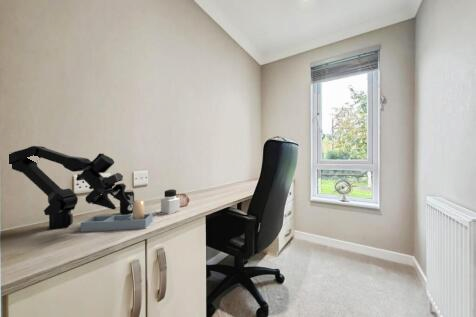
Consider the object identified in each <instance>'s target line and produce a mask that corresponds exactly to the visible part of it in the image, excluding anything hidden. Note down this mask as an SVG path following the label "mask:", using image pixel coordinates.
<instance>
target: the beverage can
mask: <svg viewBox="0 0 476 317" xmlns="http://www.w3.org/2000/svg"><path fill="white" fill-rule="evenodd" d="M124 193H125V196H126V198H127V200H128V202H129V203H128V204H125V203H123V202H121V201H119V214H120V215H133V201H135V192H134V190H133V189H125V191H124Z"/></svg>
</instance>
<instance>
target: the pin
mask: <svg viewBox="0 0 476 317" xmlns="http://www.w3.org/2000/svg"><path fill="white" fill-rule="evenodd" d="M144 214H145V200H144V199H136V200H135V199H134V201H133V213H132V215H133V220H143V219H144Z"/></svg>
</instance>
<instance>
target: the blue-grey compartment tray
mask: <svg viewBox="0 0 476 317" xmlns="http://www.w3.org/2000/svg"><path fill="white" fill-rule="evenodd" d="M153 216H154V215H153V213H144V219H143V220H133V214H127V215H122V214H117V215H116V214H115V215H114V214H113V215H94V216H92V217H89V218H88V219H86V220H84V221H83V220H82V221H81V222H80V232H84V233H85V232H95V231H96V232H102V231H103V232H104V231H121V230H124V231H125V230H143V229H147V228H148V227H149V226H150V225H151V224H152V223H153V218H154V217H153Z"/></svg>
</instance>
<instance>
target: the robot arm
mask: <svg viewBox="0 0 476 317" xmlns="http://www.w3.org/2000/svg"><path fill="white" fill-rule="evenodd" d="M10 153H11V154H9V164H12V169H11V170H13V171H16V172H19V173H22V174H23V175H24V176H25V177H27V179H29V180H30V181H31V182H32V183H33V184H34V185H36V187H37V188H38V189H40V191H41V192H43V194H45V195H46V196H47V203H48V205H47V207H45V208H44V210H43V213H44V215H45V216H48V218H49V219H48V228H47V229H46V230H47V231H50V230H51V231H52V230H59V229H66V228H69V227H70V226H71V225H72V224H73V222H74V221H73V219H74V218H73V216H74V214H73V213H72V211H74V210H75V208H76V205H77V204H78V202H79V200H78V199H79V198H78V196H77V193H75V192H74V191H73V190H72V189H71V188H64V189H63V188H61V187H60V186H59V185H58V184H57V183H56V182H55V181H54V180H52V179H51V178H50V176H48V175H47V174H46V173H45V172H44V171H43V170H41V168H40V167H39V166H38V162H37V163H36V162H34V161H32V160H30V159H28V158H27V157H30V156H33V155H34V156H38V157H39V158H40V159H45V160H47V161H50V162H54V163H56V164H60V165H62V166H63V167H64V168H65V169H67V170H69V171H70V172H81V173H77V176H76V179H75V180H76V182H78V181H83V180H84V182H85V183H86V184H88V186H89V187H88V189H89V190H91V191H90V192H89V193H88V194H87V195H86V196H85V202H86V203H87V204H88V205H90V204H92V205H96V206H100V207H105V208H106V209H110V210H116V209H117V207H116V205H115V204H114V203H113V202H112V201H111V199H110V198H109V195H110V196H112V198H113V199H115V200H117V201H119V202H120V201H121V202H123V203H125V204H128V203H129V202H128V200H127V198H126V196H125V193H124V191H125V190H127V189H126V188H127V185H126V184H125V183H119V182H122V181H123V178H124V176H123V174H121V173H120V172H116V173H114V174H111V175H109V176H103V175H102V174H104V173H106V172H107V171H108V170H109V169H110V168H111V167H112V166H114V164H115V161H114V159H113V158H112V157H109V156H107V155H105V154H104V153H102V152H101V153H98V155H97V156H96V157H95V158H94V159H92V161H91V160H90V159H89V158H88V157H81V156H71V155H68V154H65V153H62V152H59V151H56V150H52V149H50V148H47V147H45V146H41V145H40V146H39V145H31V146H29V147H26V148H23V149H20V150H19V149H18V150H16V151H12V152H10Z"/></svg>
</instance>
